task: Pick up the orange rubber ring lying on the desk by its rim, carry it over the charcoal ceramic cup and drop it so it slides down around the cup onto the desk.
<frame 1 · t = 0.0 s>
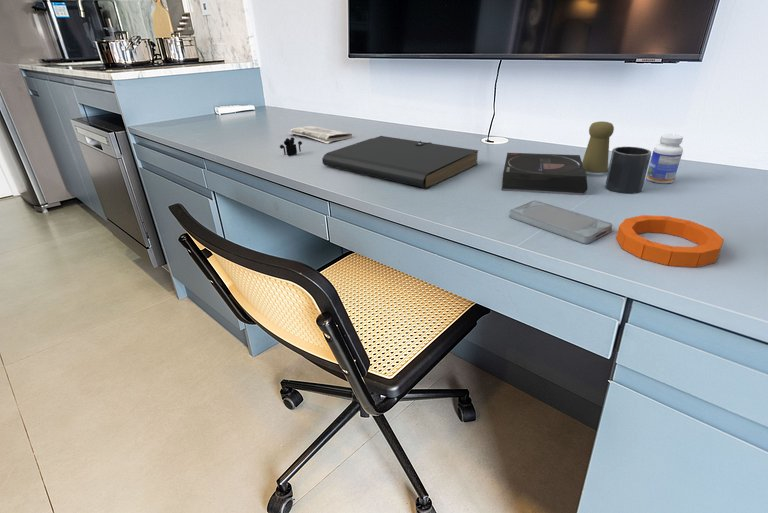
ring: (665, 245, 69), on the table
pill bottle: (659, 181, 96), on the table
olive pawn: (593, 169, 106), on the table
portable cd player: (542, 181, 99), on the table
newspaper: (319, 137, 150), on the table
phone: (557, 224, 78), on the table
wireless earbuds: (291, 155, 129), on the table
cup: (623, 188, 93), on the table
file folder: (399, 166, 114), on the table
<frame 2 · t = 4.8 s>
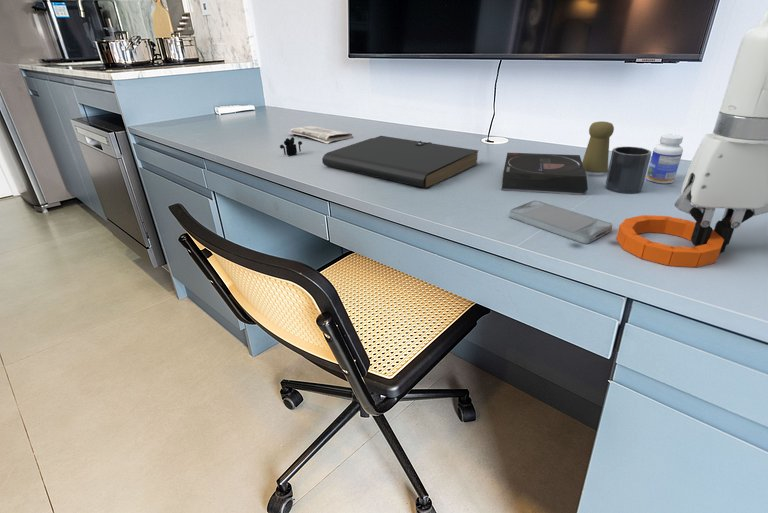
hand: (707, 247, 68), 0 cm above the table, tool pointing down, fingers closed on ring, 2 cm apart
ring: (665, 245, 69), on the table, touching gripper
everything else where it was.
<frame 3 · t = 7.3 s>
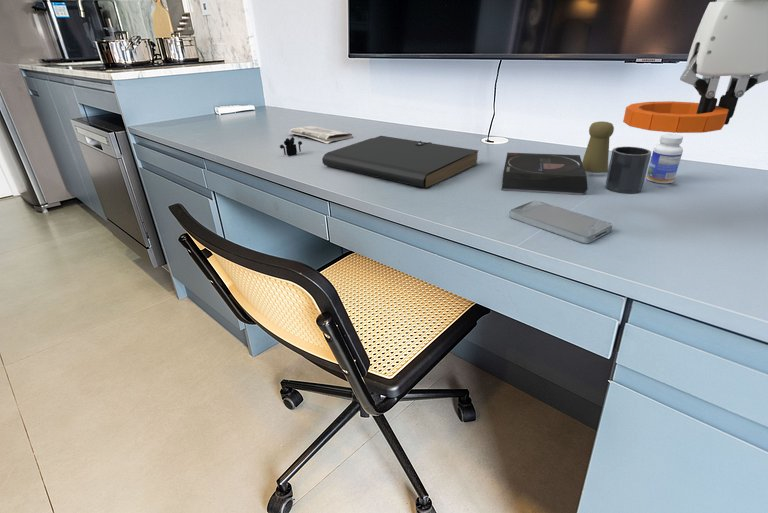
hand: (712, 122, 69), 17 cm above the table, tool pointing down, fingers closed on ring
ring: (671, 123, 71), point 17 cm above the table, touching gripper
everything else where it was.
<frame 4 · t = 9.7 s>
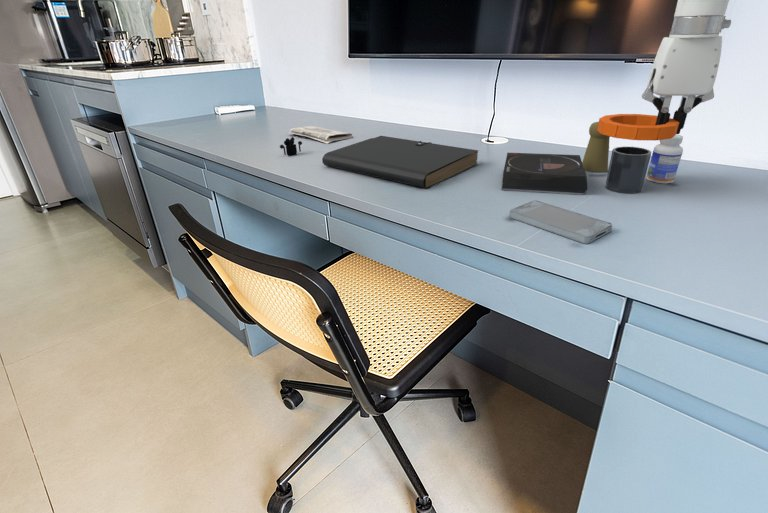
hand: (667, 132, 86), 12 cm above the table, tool pointing down, fingers closed on ring
ring: (635, 132, 87), point 12 cm above the table, touching gripper
everything else where it was.
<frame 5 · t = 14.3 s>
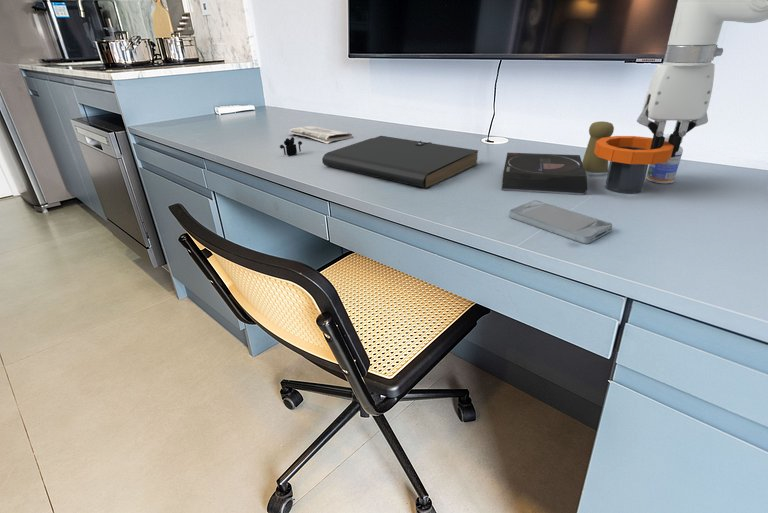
hand: (662, 154, 88), 7 cm above the table, tool pointing down, fingers closed on ring
ring: (631, 155, 90), point 7 cm above the table, touching gripper
everything else where it was.
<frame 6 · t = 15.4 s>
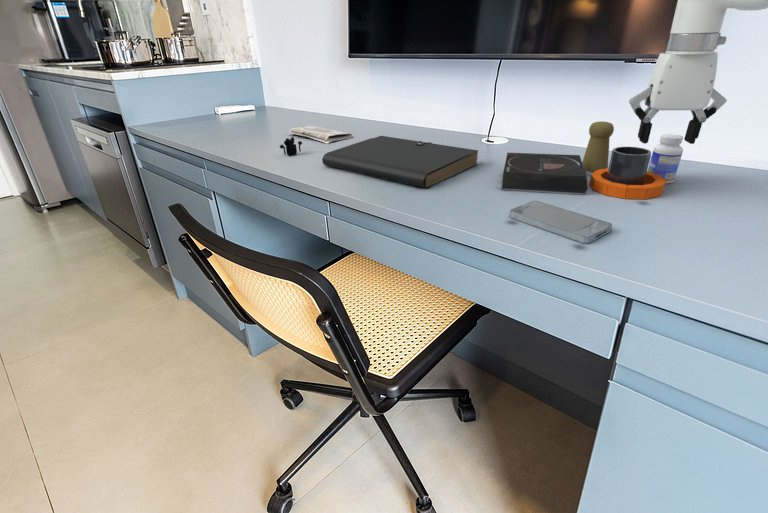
hand: (666, 141, 87), 10 cm above the table, tool pointing down, fingers open, 7 cm apart
ring: (625, 188, 93), on the table
everything else where it was.
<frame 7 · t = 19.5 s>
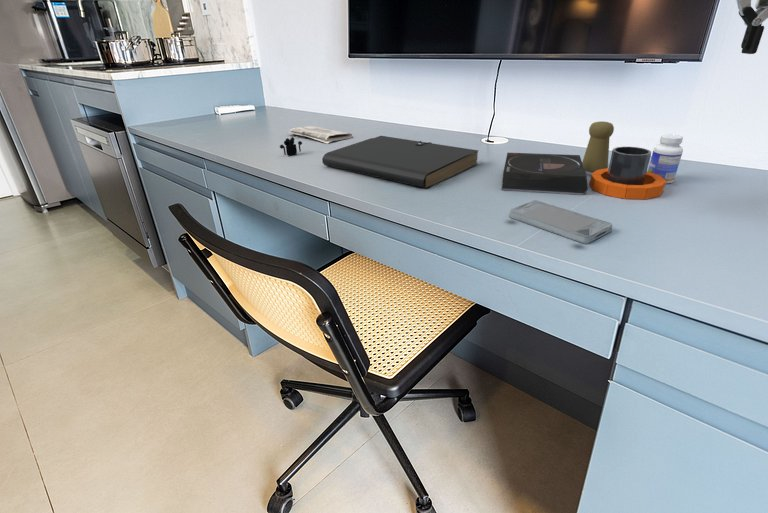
nothing on the table moved.
at the end: ring 0.3 cm off-centre in the cup, point 0.0 cm above the cup's base; the gripper is holding nothing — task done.
